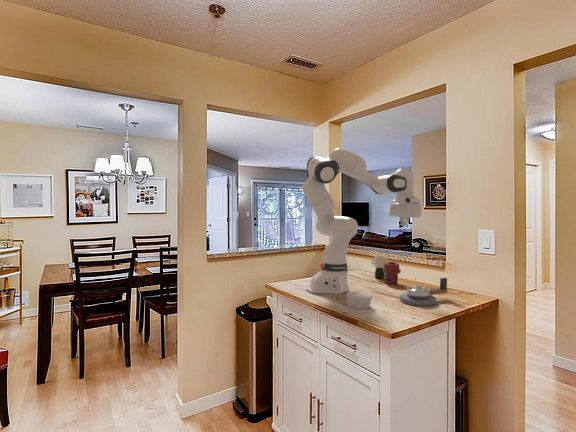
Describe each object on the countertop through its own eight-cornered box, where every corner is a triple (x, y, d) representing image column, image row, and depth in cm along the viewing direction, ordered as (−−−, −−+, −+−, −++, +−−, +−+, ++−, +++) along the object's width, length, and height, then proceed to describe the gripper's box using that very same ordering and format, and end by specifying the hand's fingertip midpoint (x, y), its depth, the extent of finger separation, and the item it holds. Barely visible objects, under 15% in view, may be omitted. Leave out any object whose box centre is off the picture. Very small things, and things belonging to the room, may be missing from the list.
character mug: (390, 278, 209) (390, 257, 209) (386, 280, 204) (386, 258, 203) (373, 275, 216) (373, 255, 215) (369, 277, 210) (369, 256, 210)
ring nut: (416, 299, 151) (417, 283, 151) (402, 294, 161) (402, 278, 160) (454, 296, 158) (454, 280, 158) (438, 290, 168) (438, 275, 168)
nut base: (409, 306, 149) (409, 301, 149) (394, 297, 165) (394, 292, 165) (443, 306, 151) (443, 301, 151) (425, 296, 167) (425, 292, 166)
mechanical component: (381, 281, 200) (398, 281, 199) (384, 285, 190) (402, 285, 189) (381, 260, 200) (398, 260, 199) (384, 263, 190) (402, 263, 189)
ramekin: (353, 301, 157) (353, 290, 157) (376, 306, 150) (376, 294, 150) (341, 306, 149) (341, 294, 149) (364, 312, 142) (364, 299, 141)
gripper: (386, 199, 187) (386, 224, 187) (414, 199, 168) (413, 227, 168) (395, 200, 189) (395, 224, 190) (423, 199, 171) (423, 226, 171)
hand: (404, 225), depth 179 cm, fingers closed
